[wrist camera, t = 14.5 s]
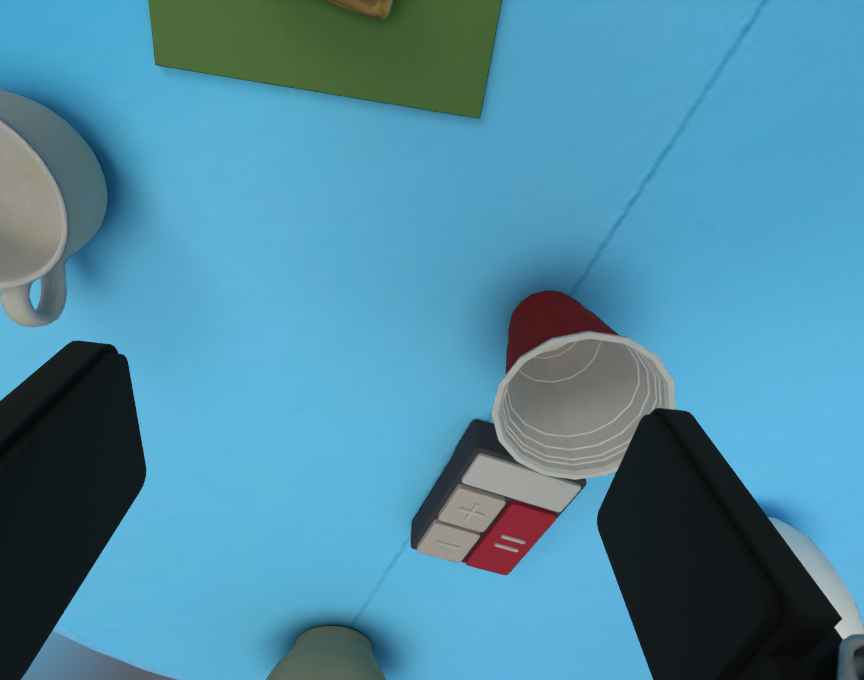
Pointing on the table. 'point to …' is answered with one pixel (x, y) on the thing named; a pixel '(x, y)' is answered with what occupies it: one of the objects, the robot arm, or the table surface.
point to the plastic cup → (573, 389)
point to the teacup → (43, 205)
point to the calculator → (488, 505)
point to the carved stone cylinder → (366, 7)
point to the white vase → (823, 577)
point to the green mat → (337, 47)
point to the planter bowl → (329, 657)
